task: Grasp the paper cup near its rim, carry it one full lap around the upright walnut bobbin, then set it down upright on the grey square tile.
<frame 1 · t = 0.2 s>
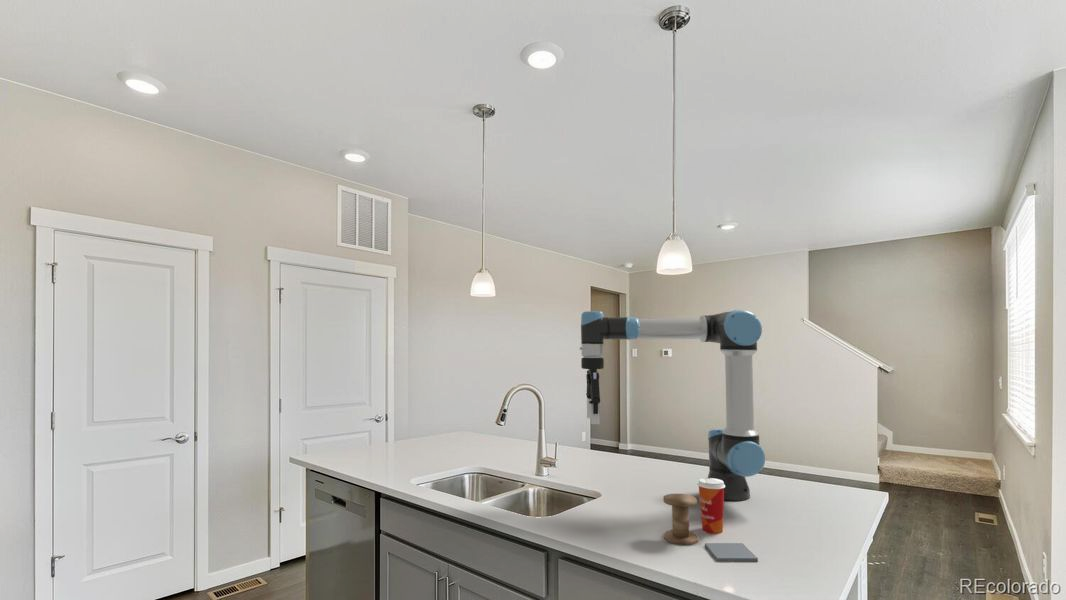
hand: (593, 421, 180), 28 cm above the worktop, fingers open, 13 cm apart
grey square tile: (730, 553, 138), on the worktop
bobbin: (680, 539, 148), on the worktop
paper cup: (712, 531, 155), on the worktop
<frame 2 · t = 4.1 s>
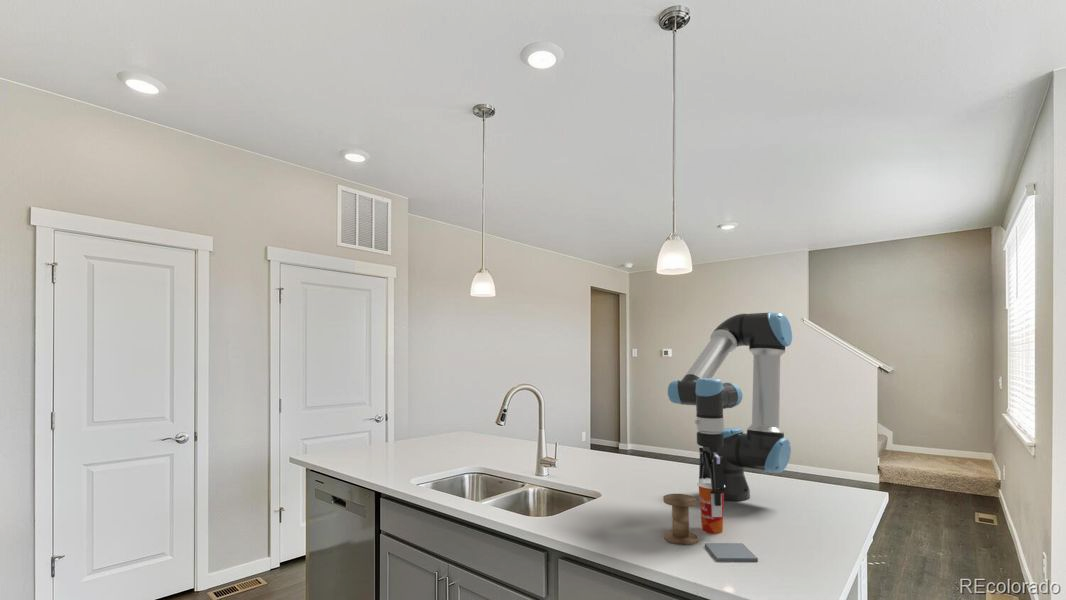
hand: (711, 511, 155), 5 cm above the worktop, fingers closed on paper cup, 8 cm apart
paper cup: (712, 531, 155), on the worktop, touching gripper
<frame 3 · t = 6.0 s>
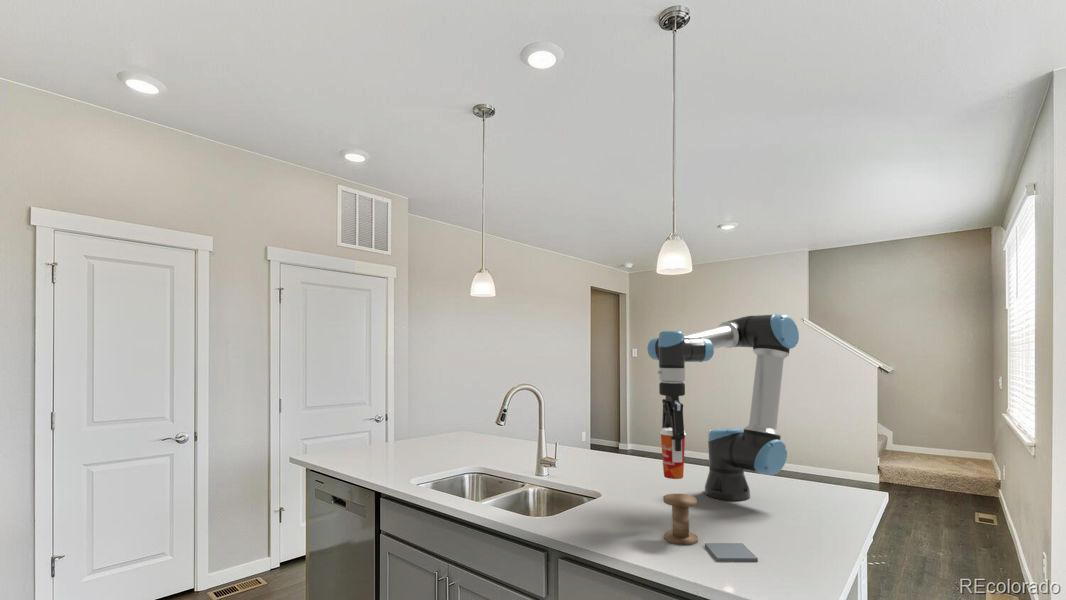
hand: (673, 458, 161), 19 cm above the worktop, fingers closed on paper cup, 8 cm apart
paper cup: (673, 477, 160), point 14 cm above the worktop, touching gripper
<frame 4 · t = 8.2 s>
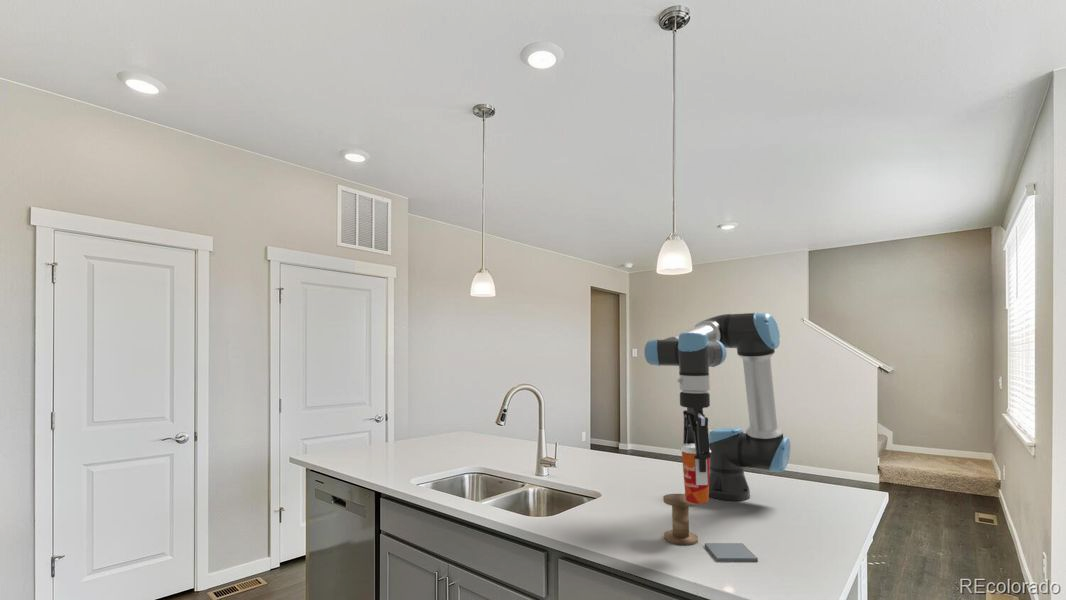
hand: (696, 480, 140), 18 cm above the worktop, fingers closed on paper cup, 8 cm apart
paper cup: (697, 501, 139), point 13 cm above the worktop, touching gripper
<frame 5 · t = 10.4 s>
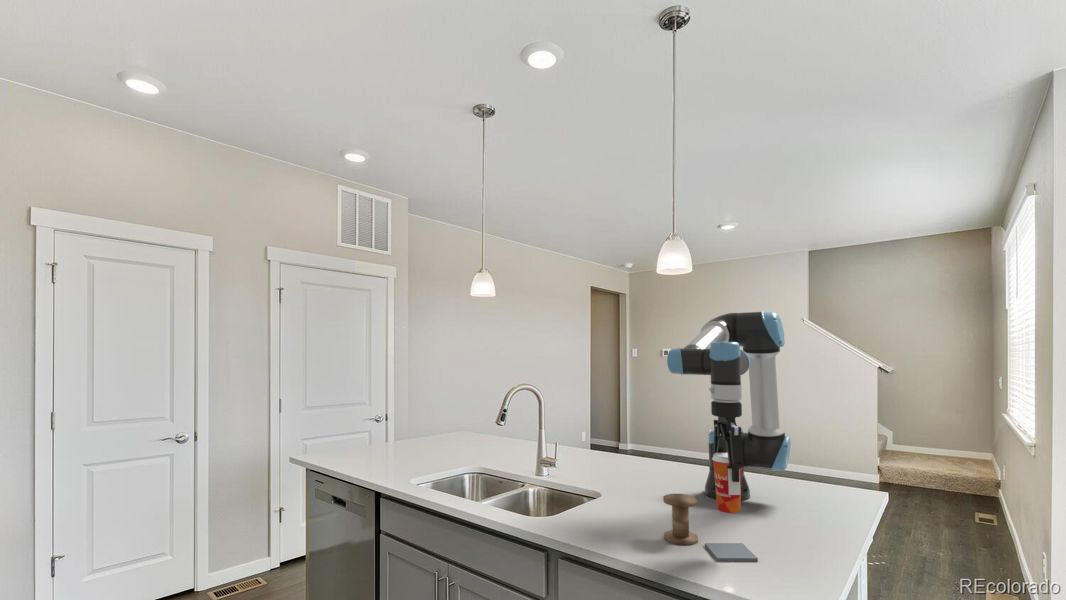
hand: (728, 489, 139), 16 cm above the worktop, fingers closed on paper cup, 8 cm apart
paper cup: (728, 510, 139), point 11 cm above the worktop, touching gripper
when the fingers open (7 cm above the worktop, at t = 12.3 s): paper cup stays where it is, resting on grey square tile.
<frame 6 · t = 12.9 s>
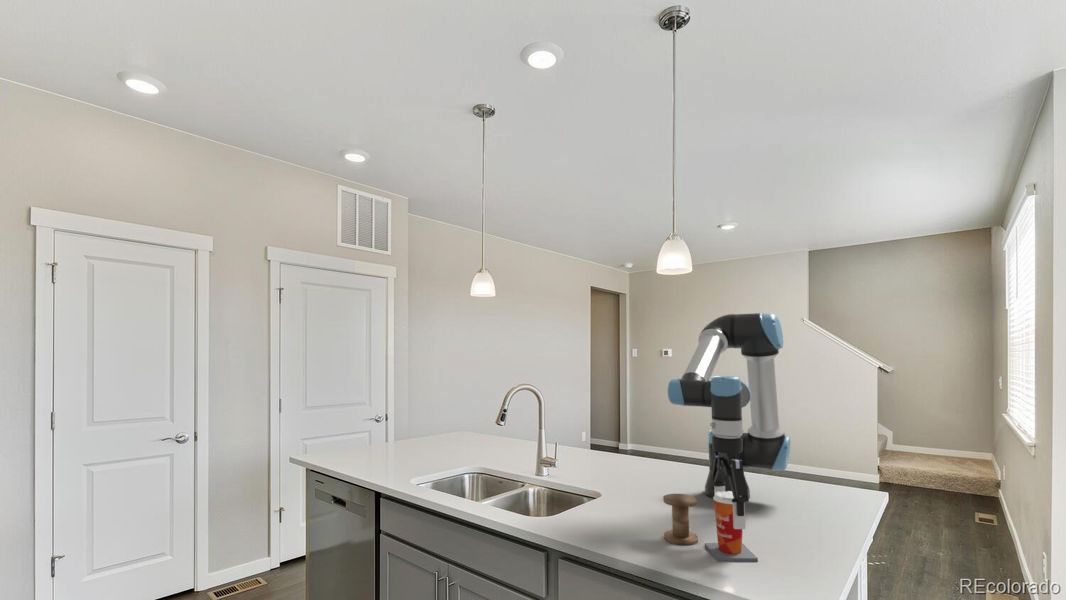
hand: (729, 519, 139), 8 cm above the worktop, fingers open, 13 cm apart
paper cup: (730, 550, 138), point 1 cm above the worktop, touching grey square tile
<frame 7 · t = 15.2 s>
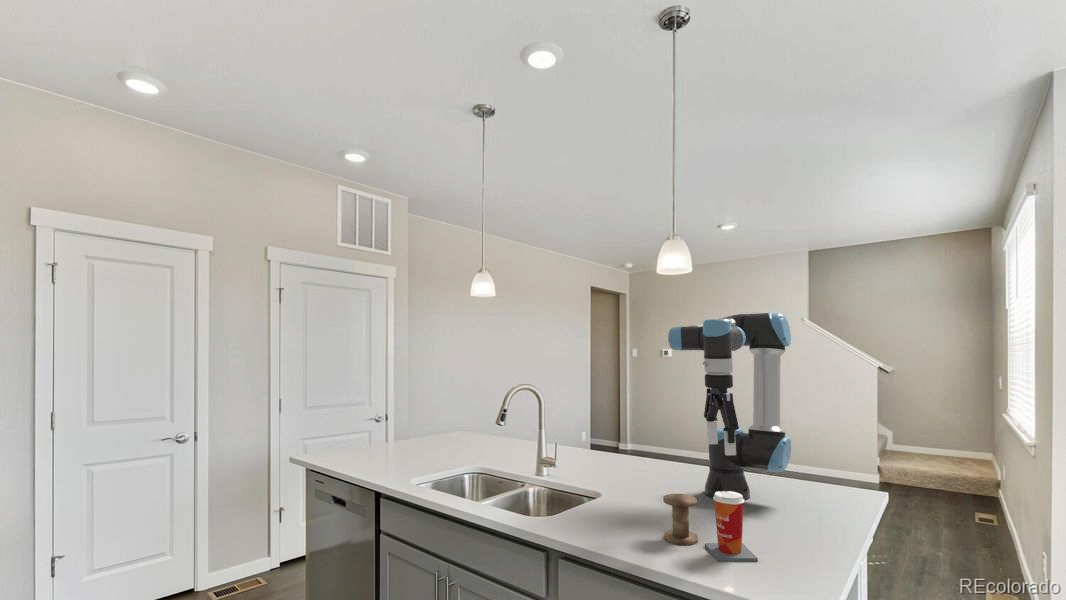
hand: (721, 449, 151), 24 cm above the worktop, fingers open, 13 cm apart
nothing on the worktop moved.
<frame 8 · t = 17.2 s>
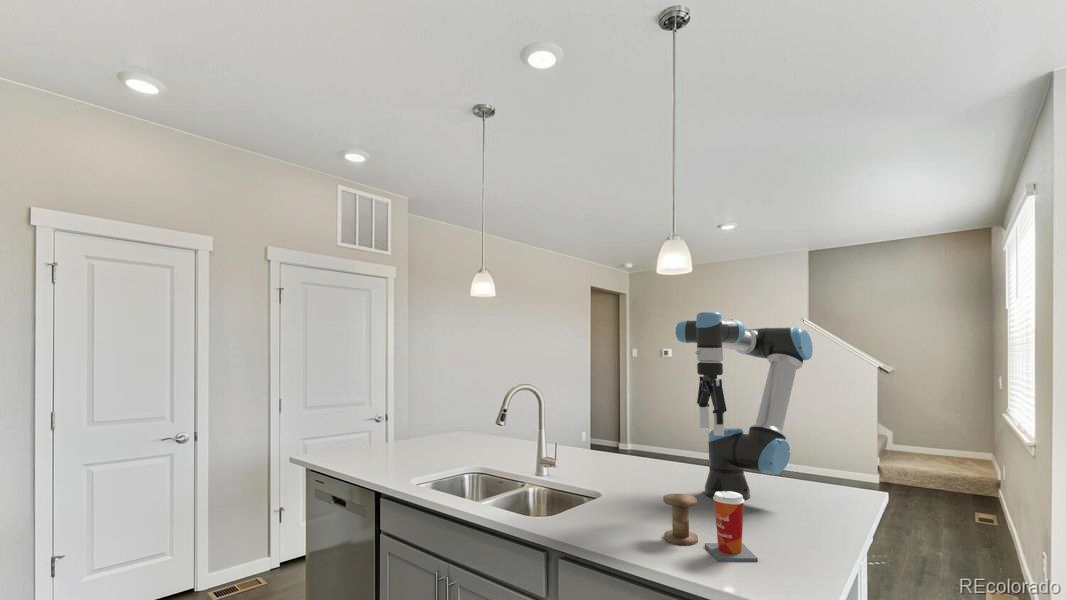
hand: (711, 431, 165), 27 cm above the worktop, fingers open, 13 cm apart
nothing on the worktop moved.
at the end: paper cup inside the target area on the grey square tile (0.1 cm from its centre), point 0.6 cm above the grey square tile's base; paper cup tilted 0°; paper cup touching grey square tile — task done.
